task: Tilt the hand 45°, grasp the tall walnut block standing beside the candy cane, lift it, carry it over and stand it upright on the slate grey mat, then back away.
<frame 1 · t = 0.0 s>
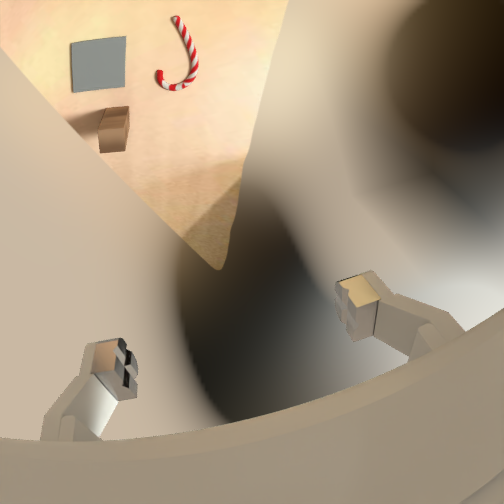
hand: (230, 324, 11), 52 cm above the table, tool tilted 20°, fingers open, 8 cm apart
candy cane: (175, 52, 45), on the table
walnut block: (118, 117, 51), on the table
slate mat: (98, 64, 41), on the table
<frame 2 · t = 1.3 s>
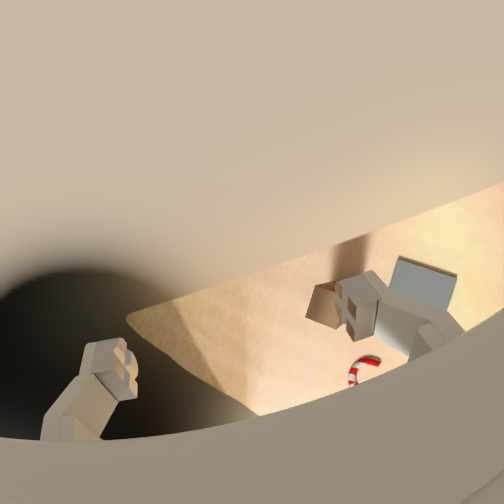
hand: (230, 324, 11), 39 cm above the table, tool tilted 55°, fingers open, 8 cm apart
candy cane: (391, 382, 43), on the table
walnut block: (343, 298, 47), on the table
slate mat: (417, 300, 41), on the table
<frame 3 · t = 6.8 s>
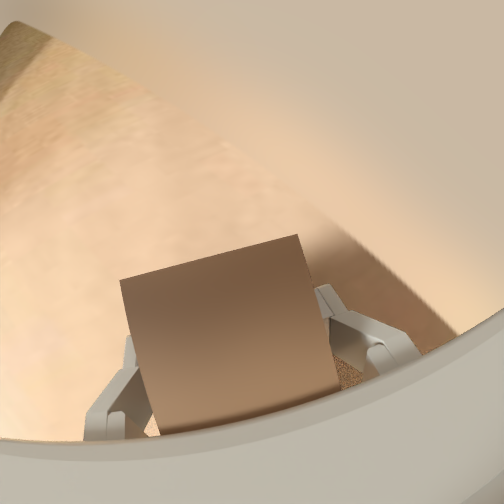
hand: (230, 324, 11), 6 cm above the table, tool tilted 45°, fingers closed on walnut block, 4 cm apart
walnut block: (238, 334, 17), on the table, touching gripper
when the fingers open (8 cm above the table, at t = 12.1 s): walnut block drops 1 cm, resting on slate mat.
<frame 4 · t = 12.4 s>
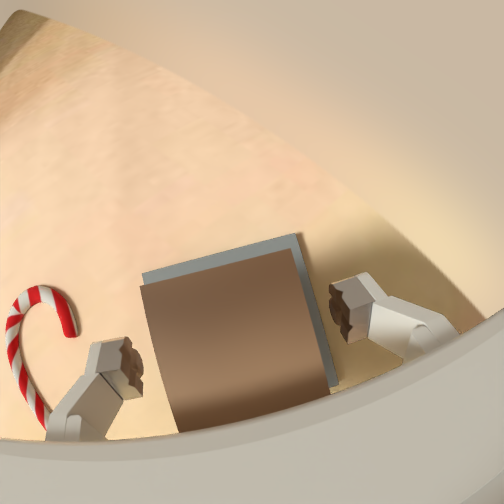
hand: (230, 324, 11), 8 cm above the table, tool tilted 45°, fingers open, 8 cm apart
candy cane: (61, 385, 18), on the table
walnut block: (239, 332, 18), resting on slate mat
slate mat: (239, 332, 18), on the table
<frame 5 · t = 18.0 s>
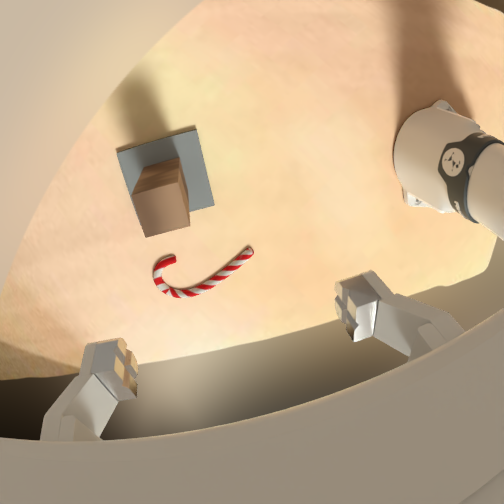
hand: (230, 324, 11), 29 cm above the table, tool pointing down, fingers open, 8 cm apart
candy cane: (202, 264, 44), on the table
walnut block: (166, 179, 36), resting on slate mat
slate mat: (166, 178, 36), on the table
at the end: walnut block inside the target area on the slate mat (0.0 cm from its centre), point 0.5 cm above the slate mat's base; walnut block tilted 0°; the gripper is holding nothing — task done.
